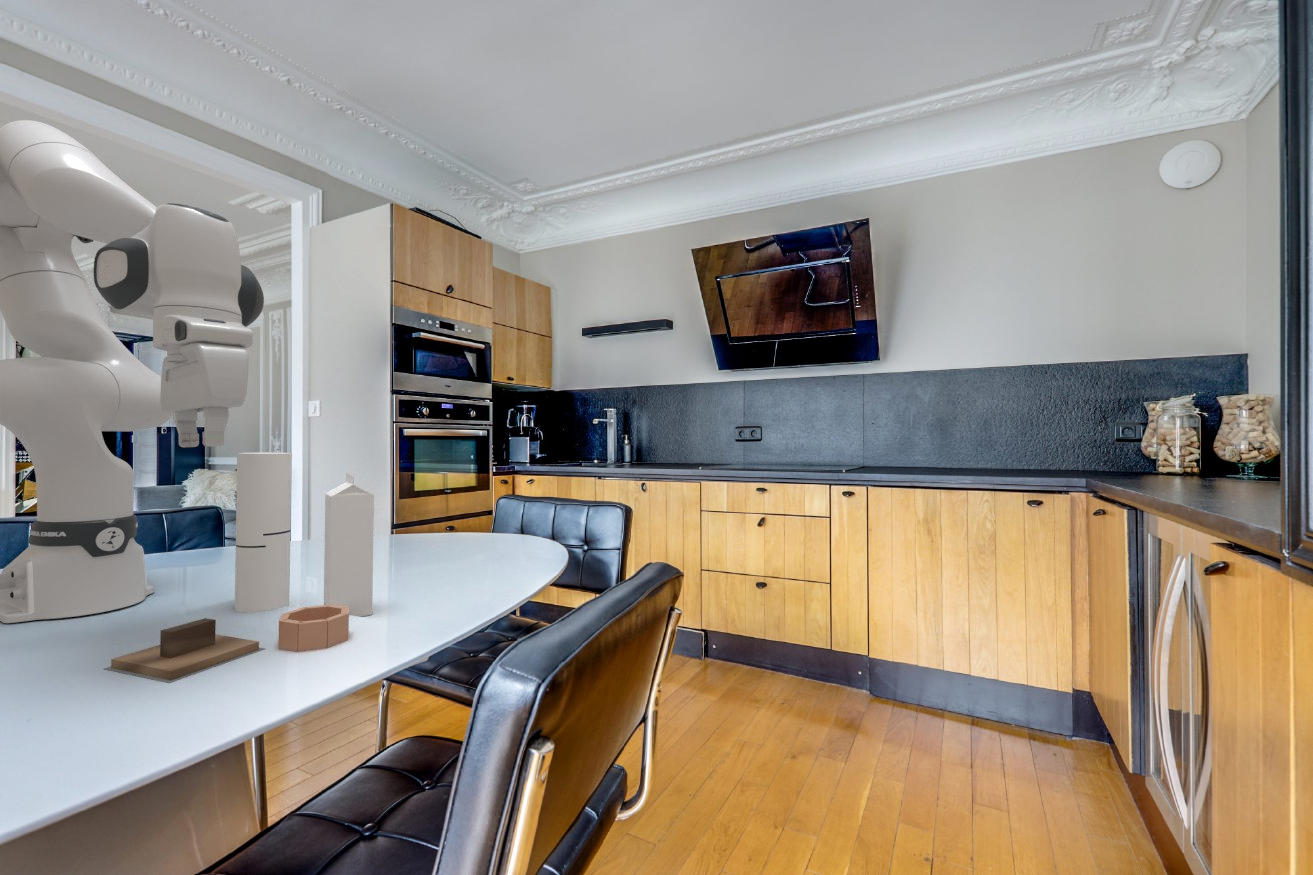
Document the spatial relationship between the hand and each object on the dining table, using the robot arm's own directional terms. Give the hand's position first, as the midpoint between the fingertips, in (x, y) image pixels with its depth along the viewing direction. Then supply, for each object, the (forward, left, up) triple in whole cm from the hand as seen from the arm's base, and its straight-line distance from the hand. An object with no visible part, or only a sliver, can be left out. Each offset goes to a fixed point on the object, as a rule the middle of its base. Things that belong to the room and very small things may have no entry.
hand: (200, 446), depth 73 cm
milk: (+3, +20, -27) cm, 34 cm away
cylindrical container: (-10, +16, -27) cm, 33 cm away
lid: (+2, -3, -25) cm, 26 cm away
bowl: (+11, +7, -26) cm, 30 cm away
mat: (+2, -3, -26) cm, 27 cm away
